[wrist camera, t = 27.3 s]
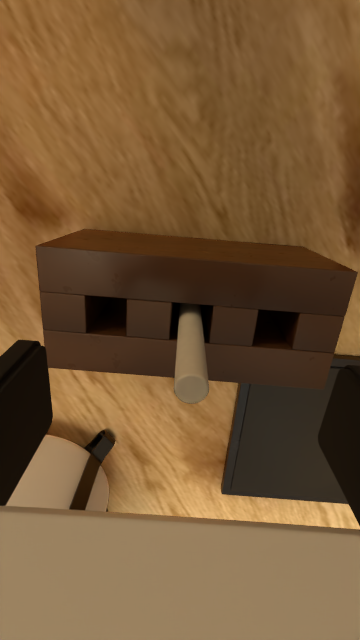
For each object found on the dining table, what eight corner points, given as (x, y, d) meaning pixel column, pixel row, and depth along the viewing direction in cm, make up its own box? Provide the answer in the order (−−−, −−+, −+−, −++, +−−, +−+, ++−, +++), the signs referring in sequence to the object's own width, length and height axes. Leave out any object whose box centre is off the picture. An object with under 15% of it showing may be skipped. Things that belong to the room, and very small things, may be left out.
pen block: (83, 228, 23) (34, 245, 16) (304, 246, 23) (358, 272, 16) (86, 317, 26) (46, 368, 18) (285, 333, 26) (324, 390, 19)
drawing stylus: (181, 278, 24) (173, 374, 11) (198, 278, 24) (209, 374, 11) (181, 294, 25) (174, 404, 12) (198, 294, 25) (208, 404, 12)
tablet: (220, 487, 32) (221, 496, 32) (244, 347, 27) (246, 352, 26) (435, 504, 33) (442, 513, 32) (506, 368, 27) (517, 374, 26)
